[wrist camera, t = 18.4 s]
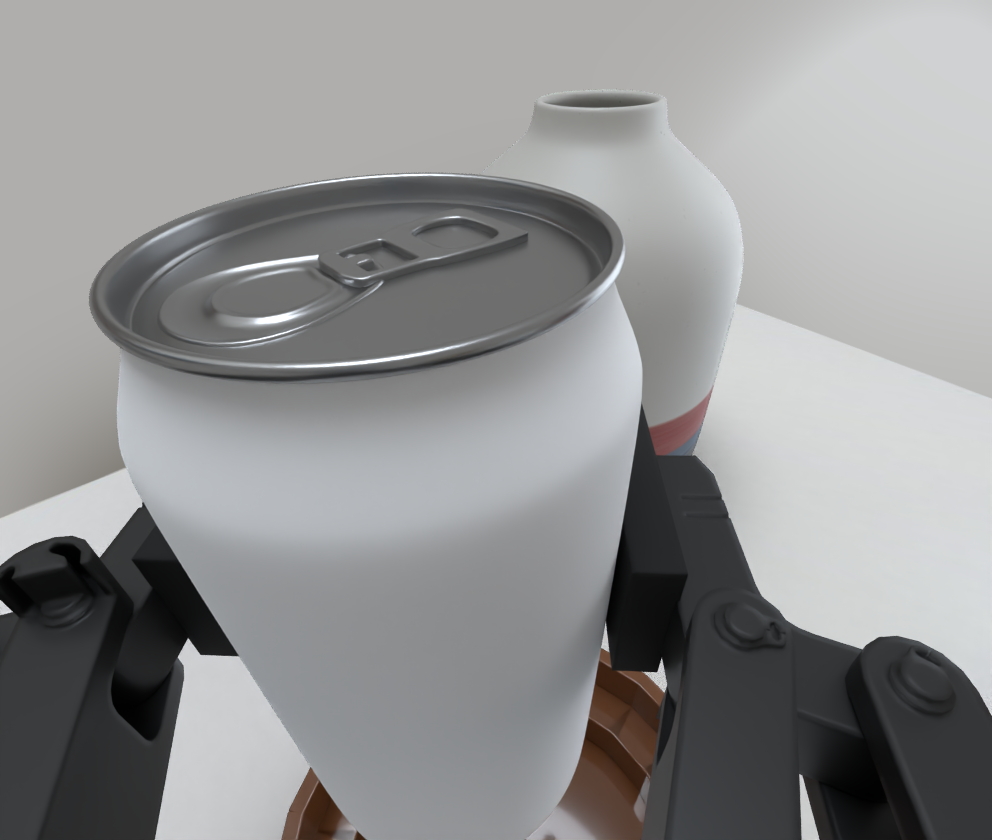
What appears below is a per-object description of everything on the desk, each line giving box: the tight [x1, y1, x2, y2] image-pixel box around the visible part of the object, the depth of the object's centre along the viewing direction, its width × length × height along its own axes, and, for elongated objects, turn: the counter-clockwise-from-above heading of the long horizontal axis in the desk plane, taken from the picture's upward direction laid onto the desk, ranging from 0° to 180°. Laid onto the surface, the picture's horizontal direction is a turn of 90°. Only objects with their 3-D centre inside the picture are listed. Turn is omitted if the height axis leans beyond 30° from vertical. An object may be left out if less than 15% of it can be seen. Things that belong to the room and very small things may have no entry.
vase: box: [480, 90, 743, 456], centre depth 33 cm, size 17×17×24 cm
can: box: [89, 173, 642, 840], centre depth 10 cm, size 6×6×12 cm
